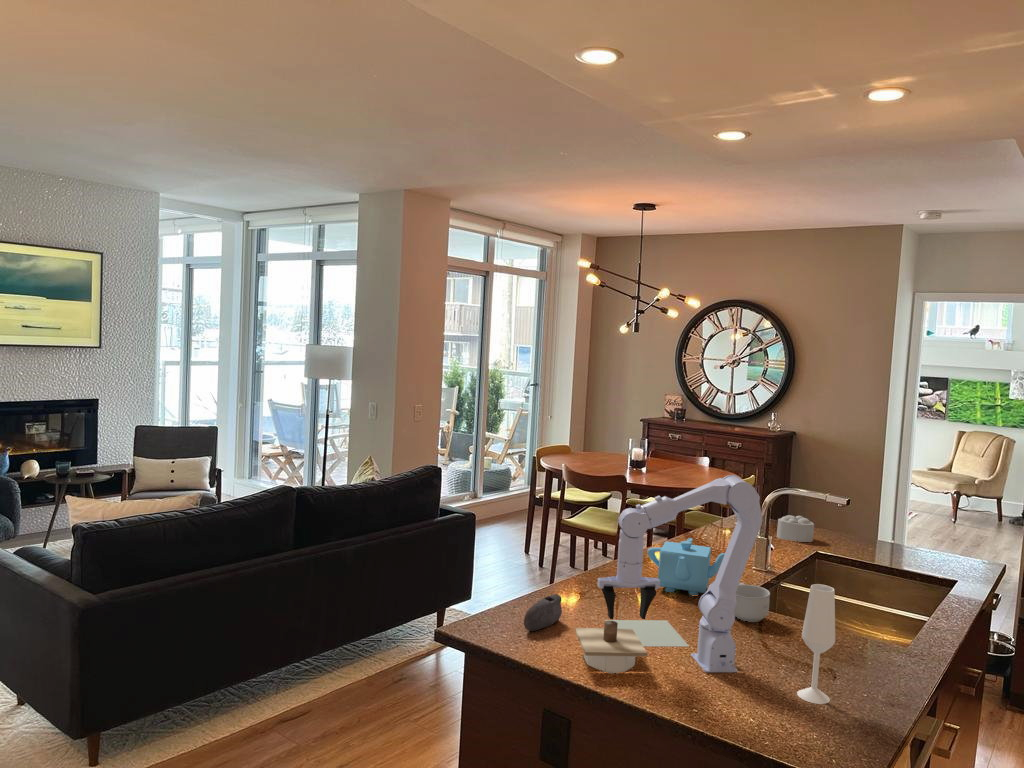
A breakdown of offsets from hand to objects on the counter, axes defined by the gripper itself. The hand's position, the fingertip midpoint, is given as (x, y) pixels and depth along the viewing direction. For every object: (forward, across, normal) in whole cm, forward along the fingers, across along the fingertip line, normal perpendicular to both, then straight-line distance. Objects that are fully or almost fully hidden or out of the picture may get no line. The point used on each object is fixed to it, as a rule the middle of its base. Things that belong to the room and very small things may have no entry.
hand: (626, 617), depth 182 cm
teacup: (+10, -43, -27) cm, 52 cm away
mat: (+10, -10, -14) cm, 20 cm away
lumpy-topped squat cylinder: (+10, -101, -109) cm, 149 cm away
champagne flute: (+10, -36, +20) cm, 43 cm away
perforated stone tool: (+10, +16, -19) cm, 27 cm away
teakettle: (+10, -33, -48) cm, 59 cm away
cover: (+5, +4, +2) cm, 7 cm away
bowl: (+10, +4, +3) cm, 11 cm away
